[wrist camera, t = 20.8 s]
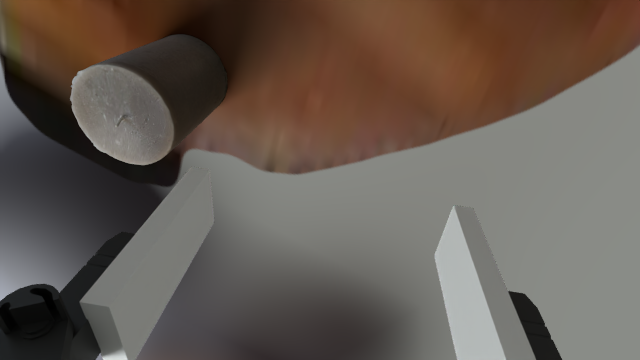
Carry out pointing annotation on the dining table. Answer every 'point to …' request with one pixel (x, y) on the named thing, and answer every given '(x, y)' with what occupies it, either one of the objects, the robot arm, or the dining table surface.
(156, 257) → the robot arm
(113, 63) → the pillar candle
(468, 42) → the dining table surface
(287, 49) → the dining table surface
